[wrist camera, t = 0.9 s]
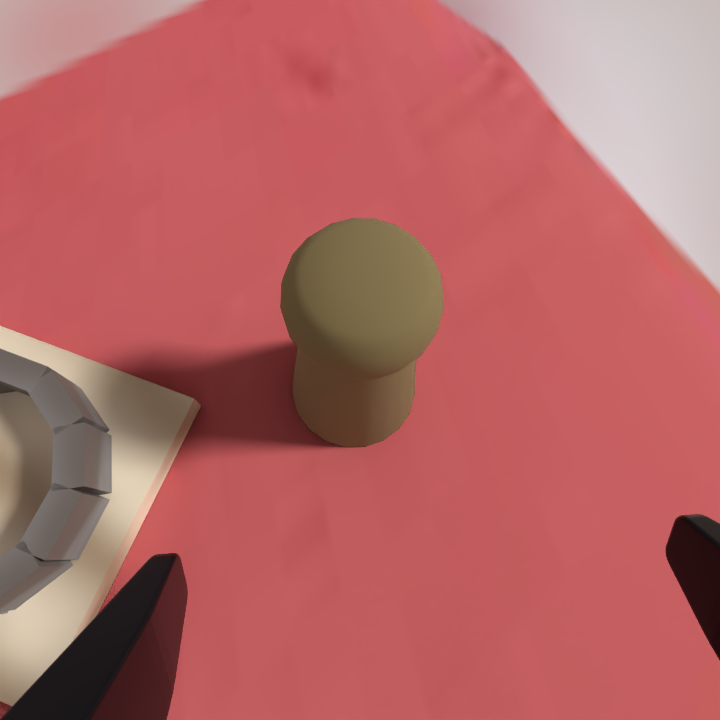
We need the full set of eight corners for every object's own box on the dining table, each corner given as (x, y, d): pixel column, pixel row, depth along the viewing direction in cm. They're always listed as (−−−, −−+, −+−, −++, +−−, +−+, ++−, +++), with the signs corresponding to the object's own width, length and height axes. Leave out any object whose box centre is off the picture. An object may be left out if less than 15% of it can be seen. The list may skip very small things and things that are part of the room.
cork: (271, 361, 25) (226, 231, 15) (378, 312, 26) (403, 160, 16) (326, 470, 23) (317, 407, 13) (437, 412, 25) (509, 312, 14)
